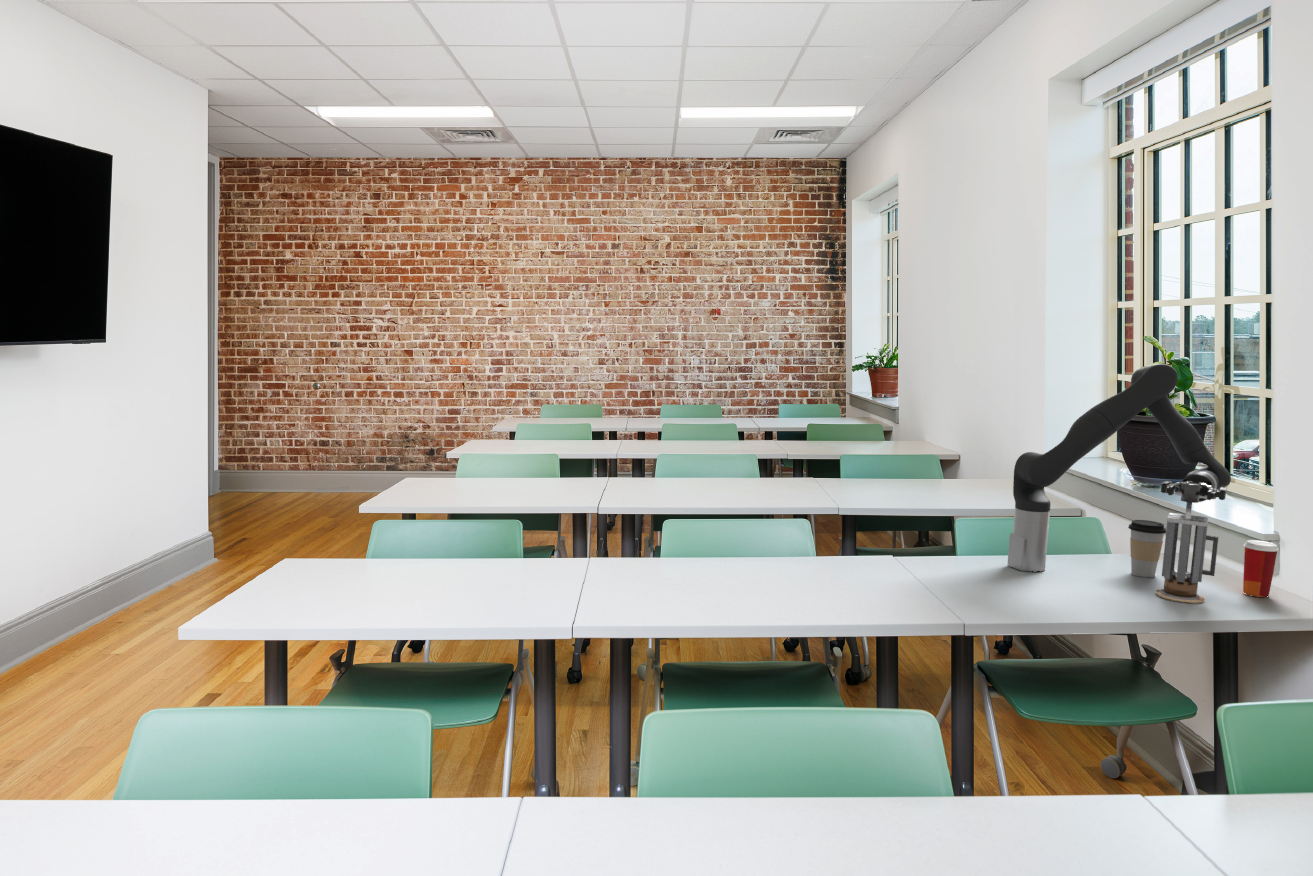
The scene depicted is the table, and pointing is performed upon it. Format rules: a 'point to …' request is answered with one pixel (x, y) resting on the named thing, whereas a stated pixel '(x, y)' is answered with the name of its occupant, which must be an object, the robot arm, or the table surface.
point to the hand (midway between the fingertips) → (1189, 493)
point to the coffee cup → (1145, 546)
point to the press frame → (1185, 559)
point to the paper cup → (1258, 567)
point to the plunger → (1188, 507)
